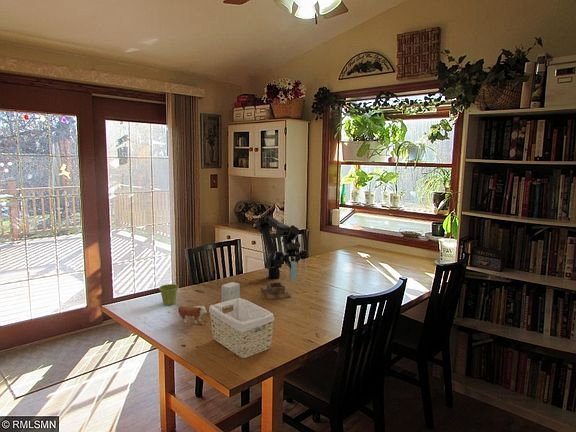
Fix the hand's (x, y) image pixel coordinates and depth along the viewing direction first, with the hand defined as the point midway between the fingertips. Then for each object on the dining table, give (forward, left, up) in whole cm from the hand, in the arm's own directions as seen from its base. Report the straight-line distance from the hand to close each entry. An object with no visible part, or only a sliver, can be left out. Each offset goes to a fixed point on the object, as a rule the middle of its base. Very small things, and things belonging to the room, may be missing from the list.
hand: (293, 268), depth 223 cm
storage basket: (-29, -62, -14) cm, 70 cm away
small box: (-34, -18, -14) cm, 41 cm away
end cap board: (-10, -2, -13) cm, 17 cm away
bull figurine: (-50, -39, -14) cm, 65 cm away
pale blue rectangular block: (0, 0, -7) cm, 7 cm away
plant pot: (-65, -14, -14) cm, 68 cm away
